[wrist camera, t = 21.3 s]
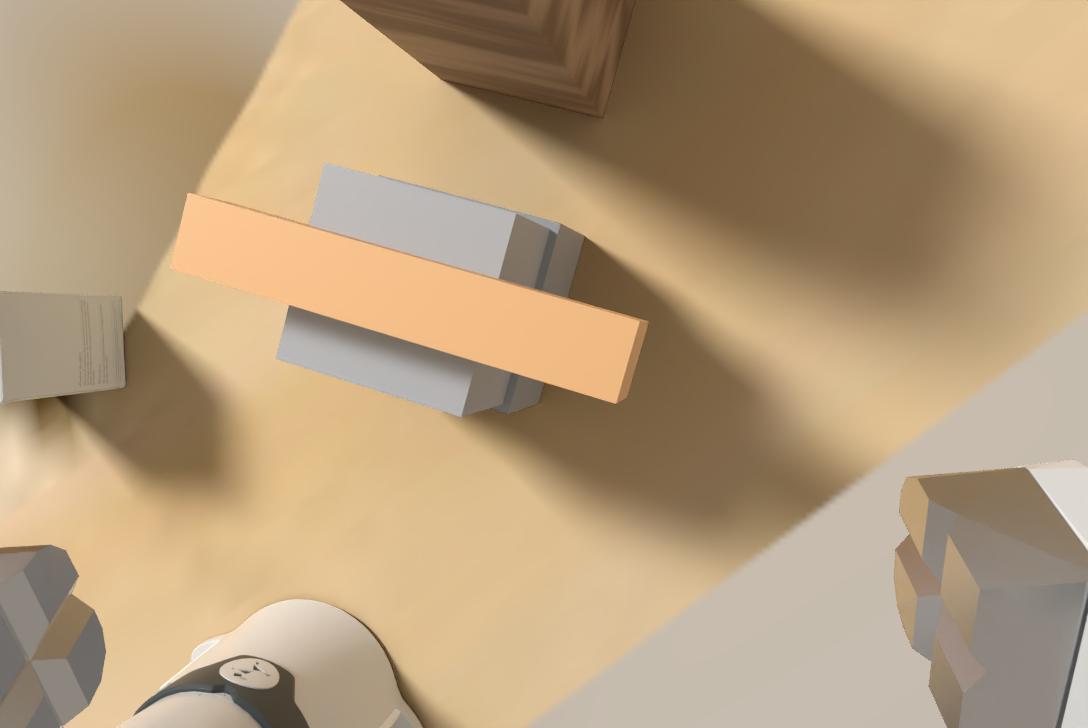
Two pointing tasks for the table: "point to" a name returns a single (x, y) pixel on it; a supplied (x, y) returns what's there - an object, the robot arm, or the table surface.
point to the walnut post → (512, 44)
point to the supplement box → (59, 344)
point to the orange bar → (411, 297)
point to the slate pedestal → (441, 235)
